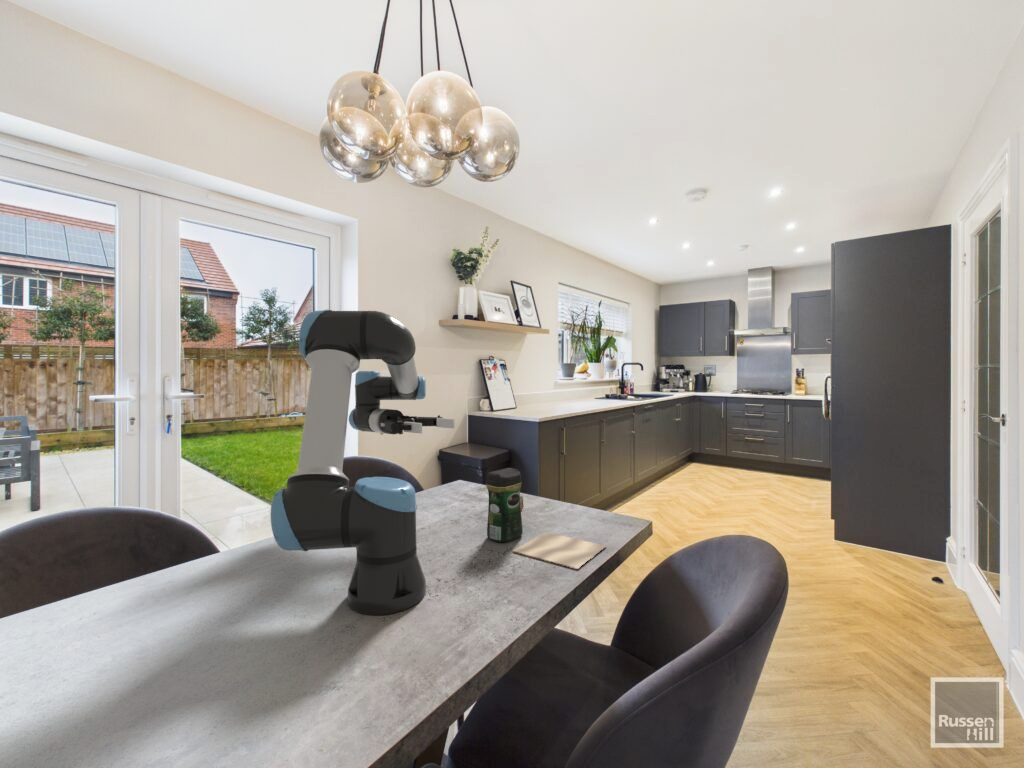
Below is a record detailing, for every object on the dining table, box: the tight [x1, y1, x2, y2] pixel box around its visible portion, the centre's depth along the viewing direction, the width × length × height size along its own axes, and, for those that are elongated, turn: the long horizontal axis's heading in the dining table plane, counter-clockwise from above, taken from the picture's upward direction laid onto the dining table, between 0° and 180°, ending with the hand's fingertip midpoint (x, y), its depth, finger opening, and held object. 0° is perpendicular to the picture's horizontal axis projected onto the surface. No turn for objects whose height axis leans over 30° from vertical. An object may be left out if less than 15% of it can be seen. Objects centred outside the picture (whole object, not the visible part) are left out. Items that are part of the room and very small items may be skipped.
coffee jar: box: [485, 467, 524, 543], centre depth 122 cm, size 10×8×19 cm
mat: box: [512, 531, 607, 569], centre depth 113 cm, size 18×16×1 cm
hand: (438, 425), depth 125 cm, fingers open, 12 cm apart
